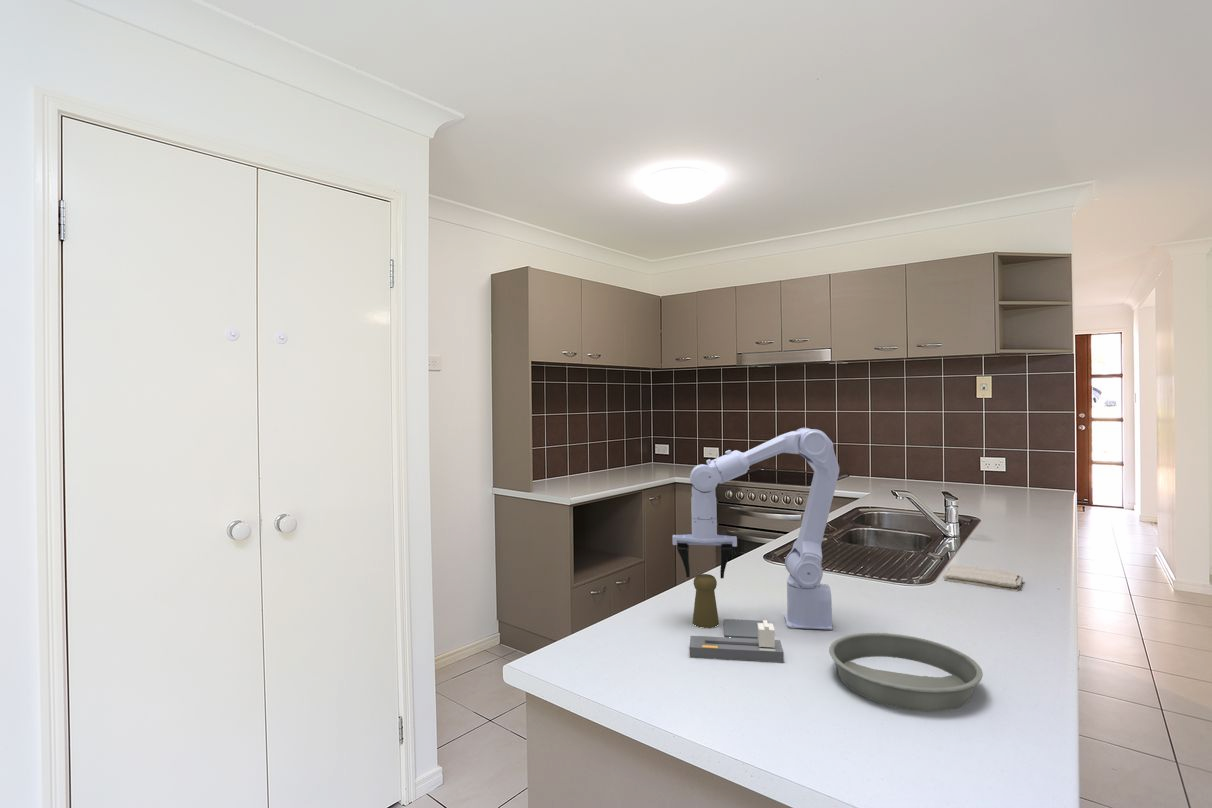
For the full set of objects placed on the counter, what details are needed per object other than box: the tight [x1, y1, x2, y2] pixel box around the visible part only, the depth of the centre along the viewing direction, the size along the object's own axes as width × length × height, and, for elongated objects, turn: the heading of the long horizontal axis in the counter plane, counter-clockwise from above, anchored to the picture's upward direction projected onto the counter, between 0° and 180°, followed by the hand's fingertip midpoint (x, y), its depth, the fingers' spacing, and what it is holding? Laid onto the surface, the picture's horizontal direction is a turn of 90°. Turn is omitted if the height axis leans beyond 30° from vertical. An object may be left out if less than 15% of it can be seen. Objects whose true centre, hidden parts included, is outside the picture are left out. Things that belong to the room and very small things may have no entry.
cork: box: [692, 573, 720, 629], centre depth 139 cm, size 6×6×11 cm
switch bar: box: [689, 635, 785, 663], centre depth 122 cm, size 18×6×2 cm, turn 80°
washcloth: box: [943, 563, 1024, 592], centre depth 167 cm, size 12×18×3 cm, turn 53°
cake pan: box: [828, 632, 984, 712], centre depth 109 cm, size 25×25×4 cm
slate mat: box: [722, 618, 769, 639], centre depth 134 cm, size 10×10×1 cm
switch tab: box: [757, 619, 776, 648], centre depth 121 cm, size 3×4×4 cm
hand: (705, 576), depth 139 cm, fingers open, 7 cm apart
